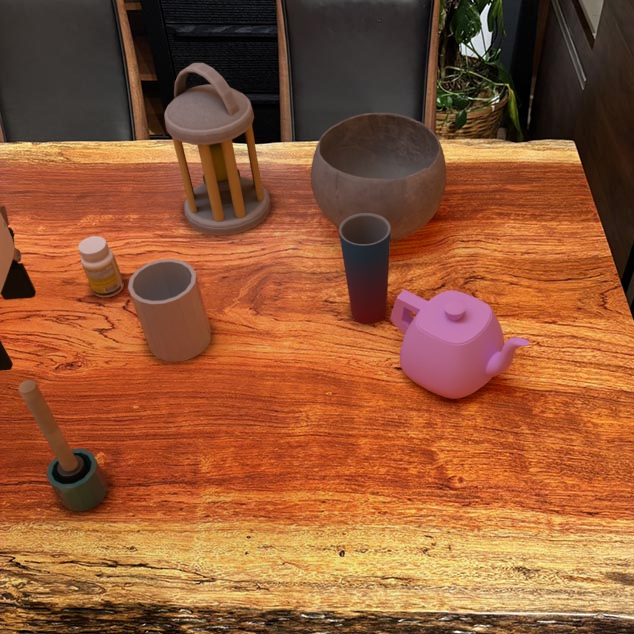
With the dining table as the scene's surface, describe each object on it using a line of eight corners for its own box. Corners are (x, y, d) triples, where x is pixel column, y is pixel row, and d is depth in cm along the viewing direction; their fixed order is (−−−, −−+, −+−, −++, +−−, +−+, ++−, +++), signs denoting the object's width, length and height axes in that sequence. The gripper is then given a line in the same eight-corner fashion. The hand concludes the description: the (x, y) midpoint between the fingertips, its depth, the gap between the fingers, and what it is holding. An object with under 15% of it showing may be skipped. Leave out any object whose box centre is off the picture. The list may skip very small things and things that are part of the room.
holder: (56, 513, 95) (42, 489, 91) (65, 474, 99) (52, 450, 95) (104, 510, 95) (91, 486, 91) (111, 471, 99) (99, 446, 95)
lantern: (287, 198, 135) (268, 55, 116) (235, 245, 127) (206, 100, 109) (221, 175, 140) (192, 34, 122) (167, 219, 132) (128, 76, 114)
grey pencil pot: (144, 364, 111) (123, 305, 102) (152, 319, 116) (133, 261, 108) (208, 359, 111) (192, 301, 103) (213, 315, 117) (198, 256, 108)
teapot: (495, 433, 101) (503, 374, 92) (366, 367, 109) (362, 308, 101) (545, 367, 108) (556, 307, 99) (420, 310, 116) (421, 250, 108)
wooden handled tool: (68, 500, 95) (8, 398, 81) (73, 480, 97) (15, 376, 83) (93, 499, 95) (38, 396, 81) (98, 478, 97) (44, 374, 83)
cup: (396, 324, 114) (395, 241, 103) (349, 331, 114) (342, 248, 102) (388, 293, 119) (385, 209, 107) (342, 299, 118) (335, 216, 107)
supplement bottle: (101, 275, 123) (84, 232, 117) (129, 279, 123) (114, 235, 116) (87, 296, 120) (69, 253, 114) (116, 300, 120) (100, 256, 113)
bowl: (403, 282, 120) (402, 199, 109) (292, 240, 128) (280, 158, 116) (466, 210, 131) (471, 127, 120) (361, 175, 139) (356, 94, 128)
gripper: (-86, 124, 70) (-8, 274, 82) (-161, 251, 58) (-58, 403, 71) (1, 118, 70) (65, 269, 82) (-57, 244, 58) (28, 397, 71)
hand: (8, 331), depth 77 cm, fingers open, 9 cm apart
